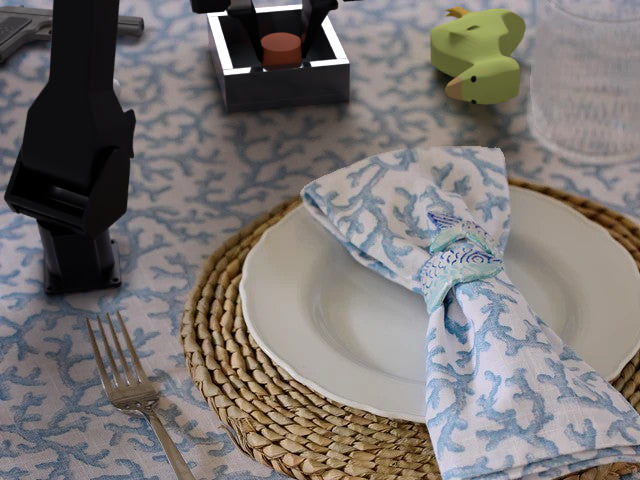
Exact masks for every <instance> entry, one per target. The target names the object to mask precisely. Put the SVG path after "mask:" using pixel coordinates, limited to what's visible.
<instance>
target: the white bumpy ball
mask: <svg viewBox="0 0 640 480" xmlns="http://www.w3.org/2000/svg"><path fill="white" fill-rule="evenodd" d="M113 89H114V92H115V94H116V96H117V98H118V100H119V99H120V96H121V93H122V88H121V84H120V82H119V79H116V78H115V77H114V79H113Z"/></svg>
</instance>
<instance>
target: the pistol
mask: <svg viewBox="0 0 640 480" xmlns="http://www.w3.org/2000/svg"><path fill="white" fill-rule="evenodd" d="M52 13H53V9H51V8H50V9H49V8H38V7H28V6H27V7H26V6H24V4H20V6H15V5H4V6H0V63H1V64H2V63H3V62H4V61H5V59H6V58H8V57H9V56H11V55H12V54H13V53H14V52H15V51H16V50H18V49H19V48H20V47H22V46H23V45H24V44H27V43H30V42H31V43H32V42H36V41H38V40H39V41H51V34H50V33H51V32H52ZM144 31H145V21H144V18H143V17H142V16H130V15H119V16H118V29H117V36H127V37H128V36H129V37H140V36H141V35H142V34H143V32H144Z"/></svg>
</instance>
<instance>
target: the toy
mask: <svg viewBox="0 0 640 480" xmlns="http://www.w3.org/2000/svg"><path fill="white" fill-rule="evenodd" d="M444 12H448V13H447V14H446V15H445V16H444V17H445V18H447V17H449V18H450V17H452V18H453V17H454V18H456V19H454V20H450V21H448V22H445V23H442V24H439V25H437V26H435V27H433V28H432V29H431V30H430V33H429V38H430V39H429V42H430V62H431V64H432V65H433V66H434V67H435V68H436V69H437V70H439V71H440V72H441V73H443V74H446V75H447V76H449V77H452V78H453V79H452V80H451V81H449V82H448V83H447V84H446V86H445V89H444V93H445V95H446V96H447V97H448V98H451V99H455V100H459V101H463V102H469V103H471V104H472V105H495V104H501V103H505V102H507V101H510V100H512V99H513V98H516V97H517V96H518V95H519V93H520V88H521V68H520V65H519V63H518V61H517V60H515V59H514V58H512V57H511V56H512V54H513V53H514V52H515V50H517V48H518V47H519V45H520V43H521V42H522V40H523V39H524V37H525V33H526V28H527V27H526V21H525V19H524V18H523V17H521V16H520V15H519V14H517V13H515V12H514V11H512V10H509V9H506V8H489V9H485V10H479V11H470V10H468V9H465V8H464V7H462V6H454V7H450V8H447V9H445V10H444Z"/></svg>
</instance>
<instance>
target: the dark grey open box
mask: <svg viewBox="0 0 640 480" xmlns="http://www.w3.org/2000/svg"><path fill="white" fill-rule="evenodd" d="M255 10H256V13H257V19H258V25H259V31H260V37H261V40H262V38H264V37H265V36H267V35H269V34H273V33H289V34H293V35H295V36H297V37H299V38H300V27H301V14H302V3H301V4H291V5H279V6H278V5H277V6H267V7H266V6H265V7H255ZM205 15H206V26H207V39H208V48H209V52H210V55H211V60H212V63H213V67H214V71H215V74H216V78H217V82H218V85H219V89H220V93H221V96H222V100H223V103H224V107H225V110H226V114H231V113H241V112H251V111H261V110H270V109H271V110H272V109H281V108H282V109H283V108H291V107H300V106H310V105H320V104H331V103H341V102H349V101H350V95H351V93H350V91H351V90H350V89H351V63H350V59H349V58H348V56H347V54H346V52H345V49H344V47H343V46H342V44H341V42H340V39H339V37H338V35H337V33H336V31H335V28H334V26H333V23H332V21H331V19H330V18H329V15H327V16H326V18H325V20H324V21H323V23H322V25H321V26H320V28H319V30H318V32H317V34H316V35H315V38H314V40H313V43H312V45H311V47H310V49H309V52H308V54H307V56H306V58H305V59H302V63H292V64H282V65H271V66H262V63H259V61H258V59H257V56H256V54H255V51H254V49H253V46H252V43H251V41H250V38H249V36H248V34H247V33H246V31H245V29H244V28H243V26H242V24H241V23H240V21H239V19H237V18H235V19H232V18H229V17H228V16H227V13H226V10H225V12H218V13H206V14H205Z"/></svg>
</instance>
